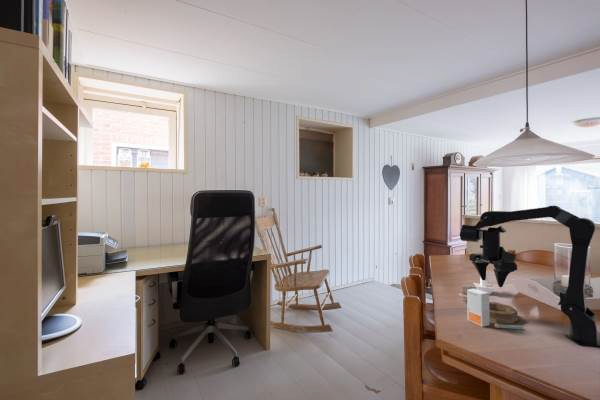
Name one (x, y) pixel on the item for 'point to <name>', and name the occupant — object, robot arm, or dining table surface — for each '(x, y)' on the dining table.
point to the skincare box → (478, 307)
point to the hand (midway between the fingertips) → (491, 283)
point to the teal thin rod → (508, 327)
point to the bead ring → (502, 313)
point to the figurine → (484, 285)
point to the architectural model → (464, 291)
